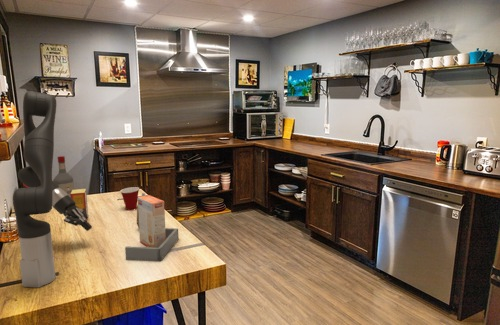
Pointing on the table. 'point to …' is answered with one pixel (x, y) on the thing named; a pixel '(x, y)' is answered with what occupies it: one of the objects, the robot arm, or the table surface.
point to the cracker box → (151, 221)
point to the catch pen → (151, 252)
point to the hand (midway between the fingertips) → (89, 229)
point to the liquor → (64, 177)
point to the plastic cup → (130, 197)
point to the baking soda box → (80, 199)
